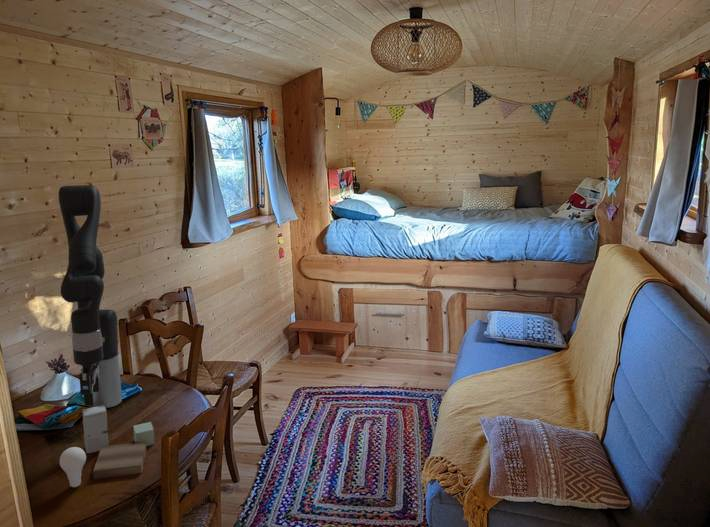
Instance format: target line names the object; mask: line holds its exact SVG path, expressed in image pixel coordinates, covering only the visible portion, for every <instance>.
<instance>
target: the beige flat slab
mask: <svg viewBox="0 0 710 527" xmlns="http://www.w3.org/2000/svg"><path fill="white" fill-rule="evenodd" d="M147 447H148V446H146V442H137V443H135V442H131V443H130V442H129V443H119V444H112V445H111V444H110V445H109V446H102V447H101V450H100V451H99V453H98V456H97V458H96V462H95V464H94V468H93V470H92V472H93V480H100V479H106V478H114V477H123V475H124V476H130V475H139V474H138V473H140V474H142V473H143V468H144V465H143V464H145V460H144V459H146V455H145V454H146V453H147V451H148V448H147Z"/></svg>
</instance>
